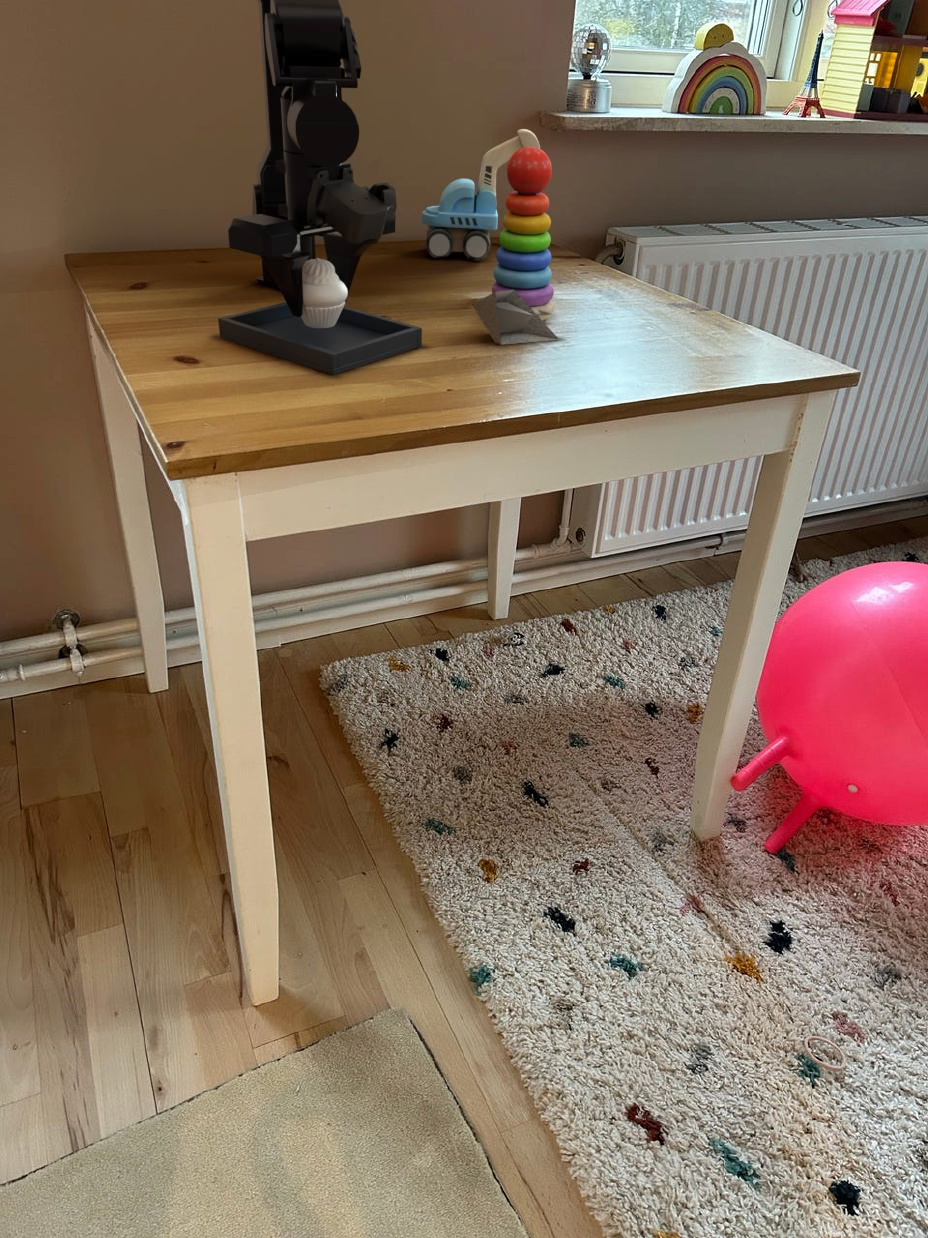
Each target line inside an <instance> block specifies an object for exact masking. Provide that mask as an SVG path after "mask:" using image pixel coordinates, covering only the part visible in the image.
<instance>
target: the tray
mask: <svg viewBox="0 0 928 1238" xmlns="http://www.w3.org/2000/svg"><path fill="white" fill-rule="evenodd" d="M217 322H218V331H219V332H218V333H219V338H221V339H223V340H226V341H229V342H232V343H236V344H239V345H242V346H245V347H248V348H250V349H254V350H257V351H259V352H262V353H265V354H267V355H268V354H269V355H272V356H274V357H277V358H281V359H283V360H286V361H290V362H292V363H296V364H297V365H298V364H299V365H302V366H305V367H308V368H309V369H310V368H311V369H314V370H317V371H320V372H323V373H325V374H329V375H331V376H335V375H338V374H339V375H340V374H342V373H344V372H347V371H351V370H354V369H357V368H360V367H363V366H366V365H369V364H372V363H376V362H379V361H382V360H385V359H388V358H391V357H394V356H398V355H400V354H403V353H406V352H409V351H412V350H416V349H418V348H422V346H423V343H422V342H423V328H422V327H421V326H416V325H413V324H410V323H407V322H403V321H399V320H395V319H392V318H388V317H385V316H381V315H378V314H374V313H370V312H367V311H363V310H360V309H356V308H352V307H349V306H345V305H344V307H343V309H342V311H341V313H340V316H339V318H338V320H337V322H336V324H335V325H334V326H333V327H330V328H321V329H320V328H312V327H308V326H306V325H305V323H304V321H303V320H302V318H301V317H296V316H294V315H293V314H292V312H291V311H290V309H289V307H288V305H287V303H286V301H284V302H280V303H277V304H272V305H268V306H264V307H259V308H255V309H251V310H247V311H243V312H239V313H235V314H230V315H226V316H222V317H219V318H217Z"/></svg>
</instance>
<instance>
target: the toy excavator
mask: <svg viewBox="0 0 928 1238" xmlns="http://www.w3.org/2000/svg"><path fill="white" fill-rule="evenodd" d="M516 132H517V136H515V137H512V138H510V139H508V140H506V141H504V142H502V143H500V144H498V145H496V146H494V147H492V148H490V149H489V150H488V151H487V152H486V153H484V155H483V158H482V161H481V165H480V170H479V178H478V184H477V190H476V185H475V182H474V181H473V180H472V179H470V178H457V179H455V180H453V181H452V182H450V183H449V184H448V185H447V186H446V187H445V189H443V191H442V193H441V195H440V198H439V205H432V206H428V207H426V208H425V210H423V211H422V213H421V223H423V225H426V226H427V231H426V238H425V247H426V251H427V252H428V254H429V255H430V256H431V257H432V258H434V259H438V258H439V259H440V258H447V257H449V255H451V253H452V252H455V253H456V252H457V253H463V254H464V255H465V256H466V258H467V259H472V260H473V261H474V262H479V261H483V260H484V259H485V258H486V257H487V256H488V255H489V253H490V250H491V241H490V231H496V230H498V221H499V215H498V210H497V202H498V201H497V200H498V199H497V171H498V170H499V168H500V167H501V166H502V165H504V164H506V163H508V162H509V160H510V158H511V156H512V155H513V154H514V153H515V152H516V151H517V150H519V149H521V148H524V147H536V148H539V149H541V145H540V141H539V140H538V137H537V136H536V134H535V133H534V132H532V131H531V130H529V129H526V128H521V129H518V130H517V131H516ZM476 191H477V193H476Z"/></svg>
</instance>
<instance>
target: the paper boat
mask: <svg viewBox="0 0 928 1238" xmlns="http://www.w3.org/2000/svg"><path fill="white" fill-rule="evenodd" d="M471 305H472V307H473V308H474V310H475V312H476V313H477V315H478V317H479V318H480V320H481V321H482V323H483V325H484V326H485V329H486V330H487V331H488V334H489V335H490V337H491V338H492V340H493V342H494V343H495V344H498V345H501V346H503V345H513V344H525V343H537V342H545V341H546V342H548V341H559V340H560V339H559V338H558V336H557V335H556V334H555V333H554V332H553V330H552V329H551V328H550V327H549V326H548V325H547V324H546V323H545V322H544V320H543V321H542V320H541V319H540V317H539V316H538V315H550V314H551V313H548V312H545V311H543V310H540V309H538V311H539V312H540V313H541V314H536V313H535V312H534V311H533V310H532V309H531V307H530V306H529V305H528V304H527V303H526V302H525V301H524V300H523V299H522V297H521V296H520V295H519V294H518V293H517V292H516V291H515V290H507V291H498V292H494V293H492V292H491V294H489V295H486V296H485V297H483V298H481V299H479V300H477V301H475V302H473V303H472V304H471Z"/></svg>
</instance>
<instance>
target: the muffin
mask: <svg viewBox="0 0 928 1238" xmlns="http://www.w3.org/2000/svg"><path fill="white" fill-rule="evenodd" d="M302 277H303V311H302V316H301V318H302V320H303V321H304V323H305V325H306V326H308V327H312V328H320V329H321V328H330V327H333V326H334V325H335V324H336V322H337V320H338V318H339V316H340V313H341V311H342V309H343V307H344V306H345V305H346V304H345V300H346V298H347V299H348V297H347V295H348V296H349V294H348V291H347V288H346V286H345V284H344V283H343V282H342V281H340V280H339V277H338V275H337V274H336V273H335V268H334V266H333V265H332V263H331V262H329V261H327V259H324V258H323V259H322V258H319V257H316V259H311V260H308V261H306V262H305V264H304V265H303V268H302Z"/></svg>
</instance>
